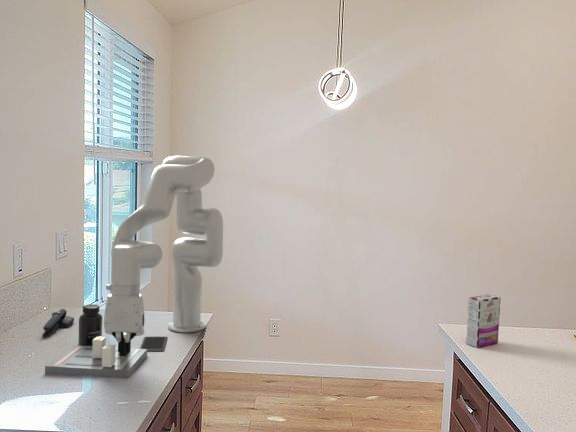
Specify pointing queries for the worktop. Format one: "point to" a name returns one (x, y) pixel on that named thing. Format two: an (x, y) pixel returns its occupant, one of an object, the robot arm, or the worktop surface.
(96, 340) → the handle
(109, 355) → the block
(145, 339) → the cell phone
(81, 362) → the breaker board
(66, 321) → the can opener
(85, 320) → the supplement bottle
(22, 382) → the worktop surface
